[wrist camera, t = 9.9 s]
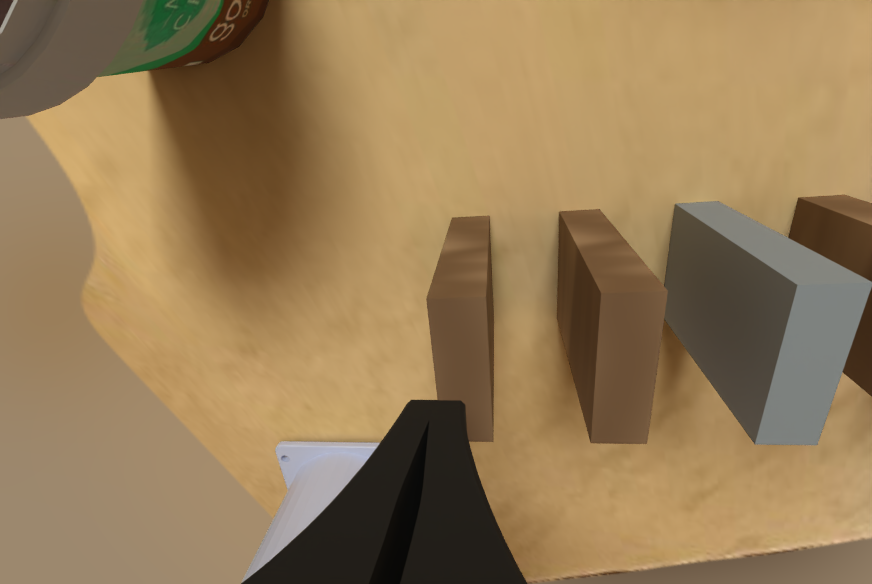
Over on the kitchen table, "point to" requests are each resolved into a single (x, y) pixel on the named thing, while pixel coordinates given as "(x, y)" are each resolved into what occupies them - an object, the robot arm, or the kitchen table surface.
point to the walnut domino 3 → (842, 260)
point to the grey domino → (761, 319)
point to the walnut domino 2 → (609, 326)
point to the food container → (108, 42)
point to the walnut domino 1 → (465, 323)
